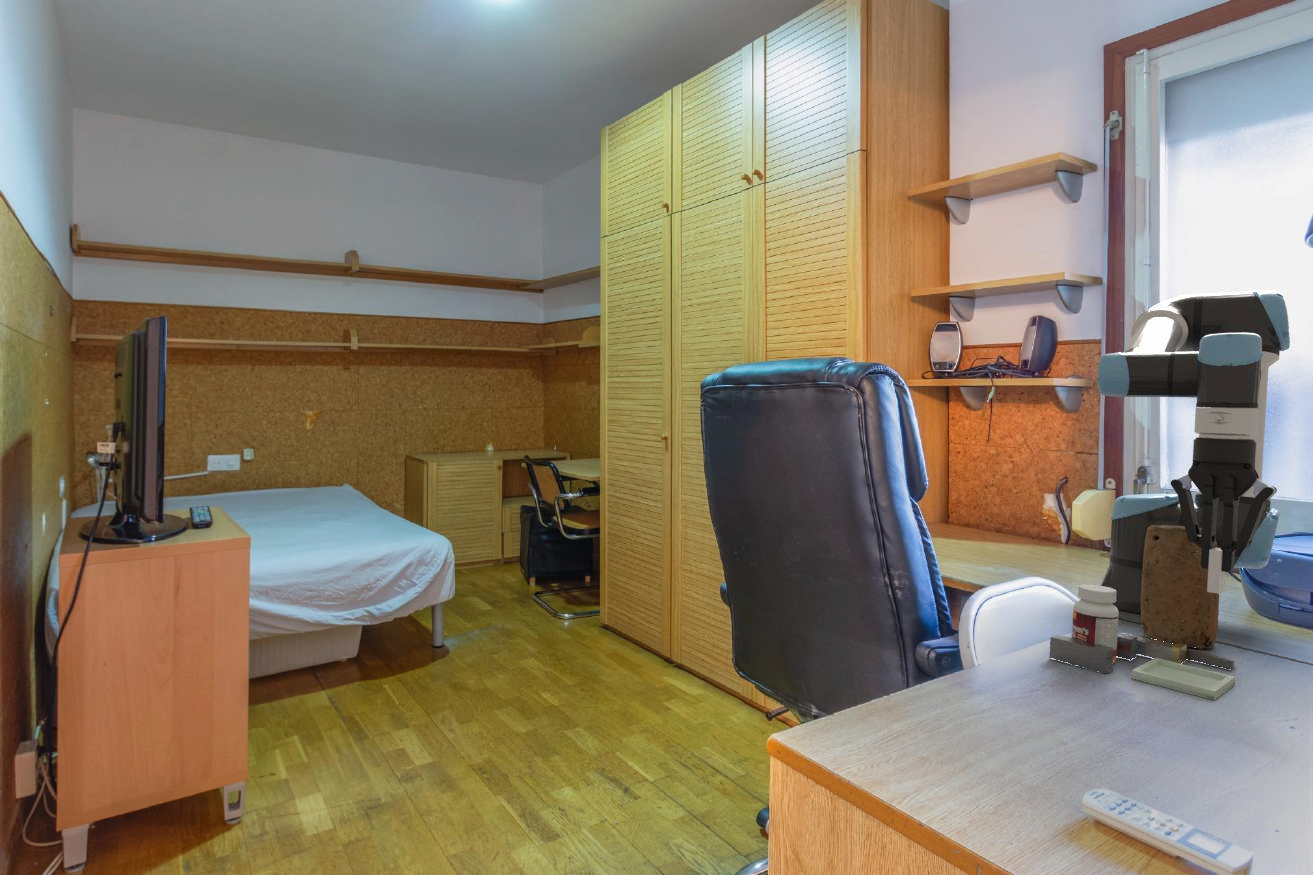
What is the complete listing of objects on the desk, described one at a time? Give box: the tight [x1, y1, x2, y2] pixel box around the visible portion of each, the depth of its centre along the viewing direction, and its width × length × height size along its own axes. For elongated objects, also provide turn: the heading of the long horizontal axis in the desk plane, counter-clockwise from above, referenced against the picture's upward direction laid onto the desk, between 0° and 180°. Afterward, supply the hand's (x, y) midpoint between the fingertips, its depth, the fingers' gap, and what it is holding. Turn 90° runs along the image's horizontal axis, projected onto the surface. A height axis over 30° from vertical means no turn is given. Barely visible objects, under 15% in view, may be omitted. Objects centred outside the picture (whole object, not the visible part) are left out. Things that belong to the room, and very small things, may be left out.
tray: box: [1131, 658, 1236, 701], centre depth 108 cm, size 10×10×1 cm
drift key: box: [1121, 632, 1188, 664], centre depth 120 cm, size 3×9×3 cm, turn 40°
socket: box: [1049, 632, 1137, 674], centre depth 118 cm, size 12×8×4 cm, turn 130°
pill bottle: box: [1071, 584, 1120, 664], centre depth 118 cm, size 6×6×11 cm
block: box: [1140, 525, 1220, 649], centre depth 128 cm, size 11×8×20 cm
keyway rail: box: [1186, 648, 1236, 671], centre depth 120 cm, size 1×15×2 cm, turn 39°
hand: (1215, 591), depth 114 cm, fingers closed
